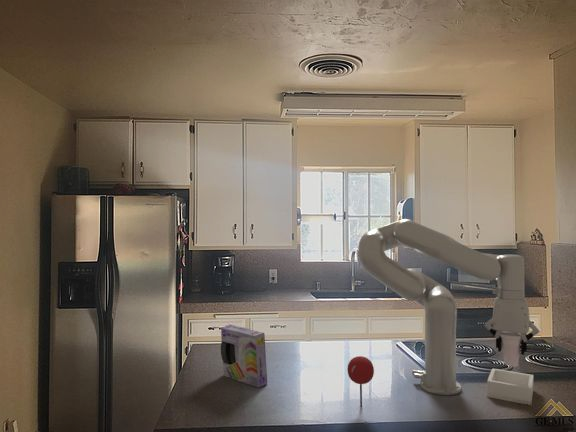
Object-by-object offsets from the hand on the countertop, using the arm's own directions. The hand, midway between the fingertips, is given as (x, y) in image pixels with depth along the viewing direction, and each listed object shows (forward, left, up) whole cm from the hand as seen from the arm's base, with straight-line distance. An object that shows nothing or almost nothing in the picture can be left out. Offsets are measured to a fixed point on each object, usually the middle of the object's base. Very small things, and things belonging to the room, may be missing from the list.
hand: (511, 351), depth 141 cm
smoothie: (0, 0, -4) cm, 4 cm away
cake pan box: (-80, -32, -14) cm, 87 cm away
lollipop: (-37, -32, -14) cm, 51 cm away
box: (0, 0, -13) cm, 13 cm away
